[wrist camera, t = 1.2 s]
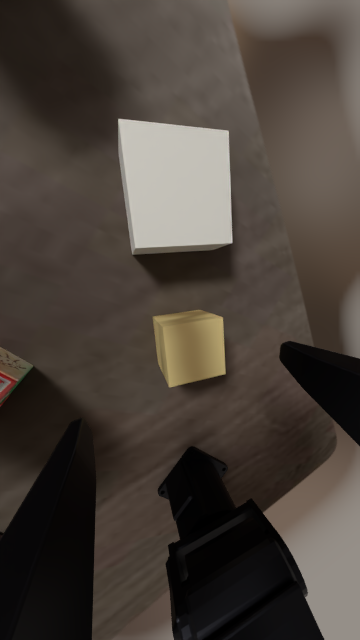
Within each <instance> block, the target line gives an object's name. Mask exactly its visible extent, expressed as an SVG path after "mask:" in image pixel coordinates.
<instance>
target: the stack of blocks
mask: <svg viewBox="0 0 360 640" xmlns="http://www.w3.org/2000/svg"><path fill="white" fill-rule="evenodd" d="M32 368H33V365H32V364H30V363H28V362H26V361H25V360H23V359H21V358H19V357H17V356H15V355H14V354H12V353H10V352H8V351H6V350H5V349H3V348H1V347H0V407H1V406H2V404H3V403H4V402H5V401H6V400H7V398H8V397H9V396H10V394H11V393H12V391H13V390H14V389H15V388H16V387H17V385H18V384H19V383H20V382H21V381H22V379H23V378H24V377H25V376H26V375H27V373H28V372H29V371H30V370H31V369H32Z"/></svg>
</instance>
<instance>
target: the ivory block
mask: <svg viewBox="0 0 360 640" xmlns="http://www.w3.org/2000/svg"><path fill="white" fill-rule="evenodd" d="M118 147H119V160H120V168H121V175H122V182H123V190H124V197H125V205H126V212H127V219H128V227H129V234H130V242H131V249H132V255H138V254H154V253H171V252H187V251H204V250H214V249H217V248H220V247H223V246H226V245H229V244H231V243H232V216H231V187H230V159H229V131H226V130H216V129H207V128H198V127H189V126H180V125H171V124H162V123H153V122H143V121H134V120H125V119H118Z"/></svg>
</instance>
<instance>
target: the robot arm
mask: <svg viewBox="0 0 360 640" xmlns="http://www.w3.org/2000/svg"><path fill="white" fill-rule="evenodd" d="M279 358H280V361H281V362H282V364H283V365H284V366H285V367H286V368H287V370H288V371H289V372H290V373H291V375H292V376H293V377H294V378H295V379H296V381H297V382H298V383H299V384H300V385H301V387H302V388H303V389H304V390H305V391H306V392H307V393H308V394H309V395H310V396H311V397H312V398H313V399H314V400H315V401H316V402H317V403H318V404H319V405H320V406H321V407H322V408H323V409H324V410H325V411H326V412H327V413H328V414H329V415H330V416H331V417H332V418H333V419H334V420H335V421H336V422H337V423H338V424H339V425H340V426H341V428H343V430H344V431H345V432H346V433H347V434H348V435H349V436H350V437H351V438H352V439H353V440H354V441H355V442H356V443H357V444H358V445H359V446H360V359H359V358H355V357H351V356H347V355H343V354H339V353H336V352H331V351H328V350H324V349H320V348H316V347H312V346H308V345H304V344H300V343H296V342H292V341H287V342H285V343H282V344H281V347H280V355H279ZM191 451H192V452H191ZM227 469H228V467H227V465H226V464H225V463H223V462H221V461H219V460H218V459H216V458H214V457H212V456H210V455H208V454H206V453H204V452H202V451H200V450H199V449H197V448H195V447H189V448H188V449H187V450H186V452H185V453H184V454H183V456H182V457H181V458H180V460H179V461H178V462H177V464H176V465H175V467H174V468H173V469H172V471H171V472H170V473H169V475H168V476H167V477H166V479H165V480H164V481H163V483H162V484H161V485H160V487H159V488H158V494H159V496H161V497H164V498H166V499H169V501H170V506H171V510H172V515H173V519H174V520H175V521H176V524H177V528H178V533H179V537H180V540H179V541H177V542H175V543H174V542H172V543H171V544H169V545H168V548H169V555H170V556H169V557H168V560H167V562H166V569H167V575H168V581H169V588H170V600H171V616H172V631H173V637H174V640H324V638H323V636H322V634H321V632H320V629H319V627H318V625H317V623H316V621H315V619H314V616H313V614H312V612H311V610H310V608H309V605H308V603H307V601H306V599H305V597H306V596H307V594H308V592H307V587H306V585H305V582H304V579H303V577H302V574H301V572H300V570H299V568H298V566H297V564H296V562H295V560H294V558H293V556H292V554H291V552H290V551H289V549H288V547H287V545H286V544H285V542H284V541H283V539H282V538H281V536H280V535H279V534H278V532H277V531H276V530H275V528H274V527H273V526H272V525H271V523H270V522H269V521H268V519H267V518H266V517H265V515H264V514H263V513H262V511H261V510H260V509H259V508H258V506H257V505H256V504H255V502H254V501H253V500H252V498H251V499H249V500H247V502H246V503H244V504H243V505H241V506H239V507H237V508H236V506H235V505H234V503H233V501H232V499H231V497H230V495H229V493H228V491H227V489H226V487H225V485H224V483H223V481H222V479H221V478H222V477H223V475H224V474H225V472H226V471H227ZM95 507H96V470H95V458H94V445H93V435H92V431H91V429H90V427H89V426H88V424H87V422H86V420H85V419H84V418H80V419H77V420H74V421H72V422H71V423H70V424H69V426H68V428H67V429H66V431H65V433H64V434H63V436H62V438H61V439H60V441H59V443H58V444H57V446H56V448H55V449H54V451H53V453H52V454H51V456H50V458H49V459H48V461H47V463H46V464H45V466H44V468H43V469H42V471H41V473H40V474H39V476H38V477H37V479H36V481H35V482H34V484H33V486H32V487H31V489H30V491H29V492H28V494H27V496H26V497H25V499H24V501H23V502H22V504H21V506H20V507H19V509H18V511H17V512H16V514H15V516H14V517H13V519H12V521H11V522H10V524H9V526H8V527H7V529H6V531H5V532H4V534H3V536H2V537H1V539H0V640H92V611H93V576H94V542H95Z"/></svg>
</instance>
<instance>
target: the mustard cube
mask: <svg viewBox="0 0 360 640" xmlns="http://www.w3.org/2000/svg"><path fill="white" fill-rule="evenodd" d="M153 324H154V332H155V340H156V348H157V356H158V364H159V366H160V368H161V370H162V373H163V375H164V377H165V379H166V381H167V383H168V385H169V387H173V386H177V385H182V384H186V383H190V382H194V381H198V380H203V379H207V378H211V377H215V376H219V375H223V374H226V372H225V352H224V332H223V317H220V316H217V315H214V314H211V313H208V312H205V311H202V310H195V311H188V312H181V313H174V314H167V315H160V316H153Z"/></svg>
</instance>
